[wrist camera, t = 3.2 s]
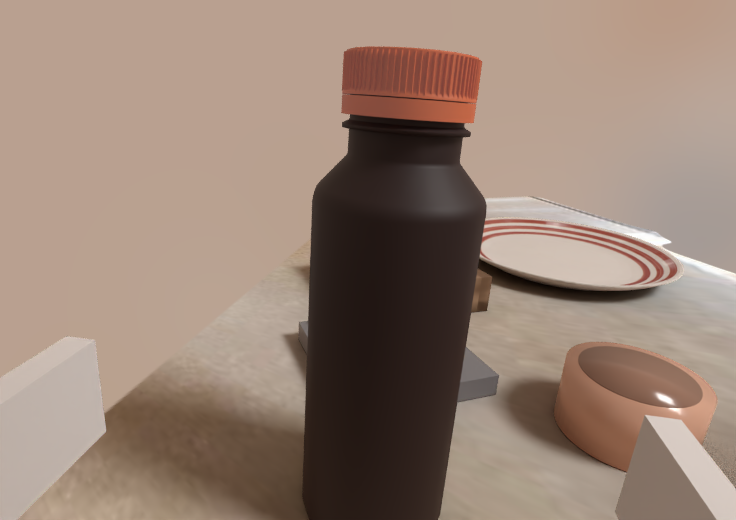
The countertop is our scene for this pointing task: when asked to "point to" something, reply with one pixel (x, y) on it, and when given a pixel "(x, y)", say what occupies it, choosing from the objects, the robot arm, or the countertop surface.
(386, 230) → the vinegar
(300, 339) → the tester pad
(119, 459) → the countertop surface
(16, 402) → the robot arm
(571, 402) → the ramekin
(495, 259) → the dinner plate
